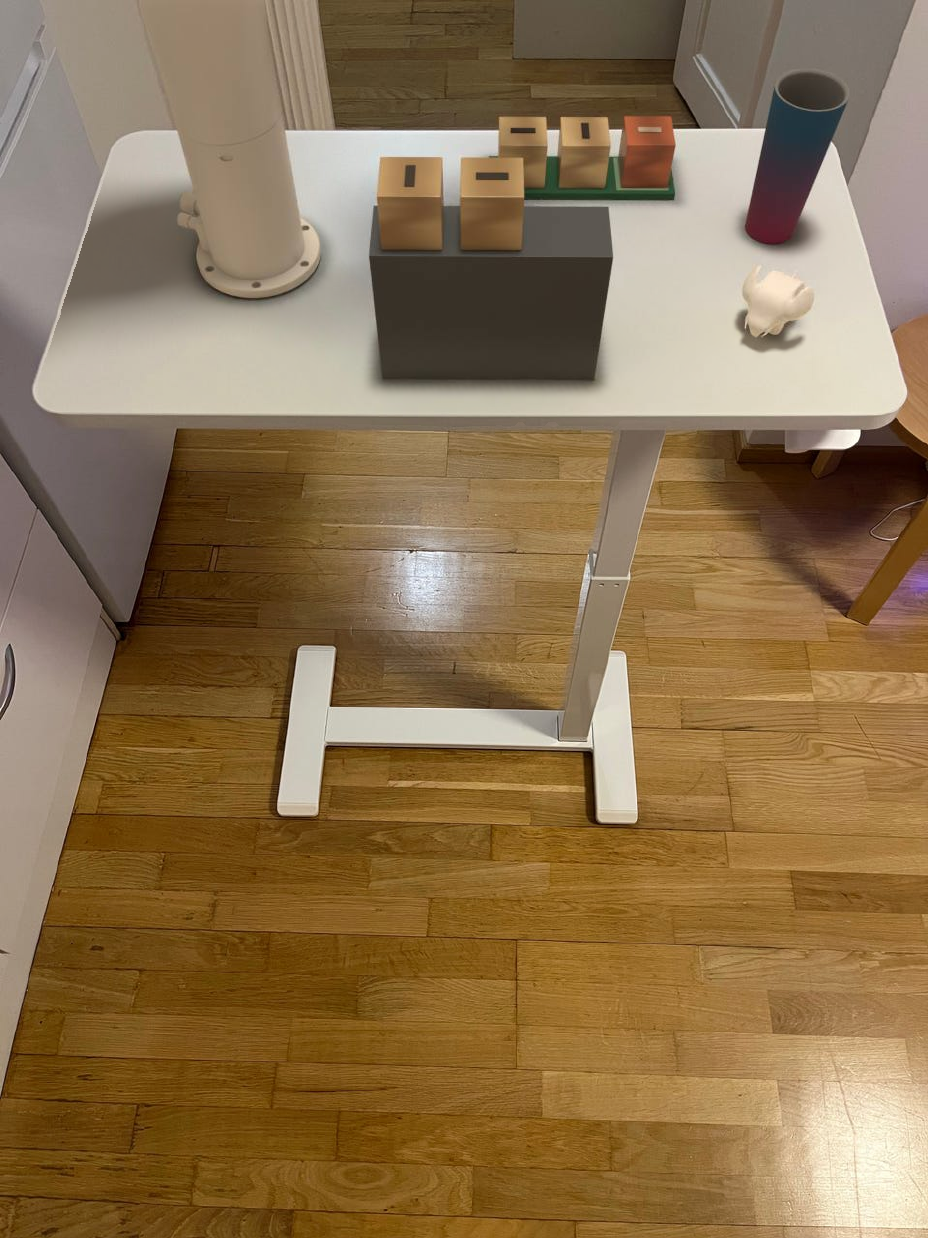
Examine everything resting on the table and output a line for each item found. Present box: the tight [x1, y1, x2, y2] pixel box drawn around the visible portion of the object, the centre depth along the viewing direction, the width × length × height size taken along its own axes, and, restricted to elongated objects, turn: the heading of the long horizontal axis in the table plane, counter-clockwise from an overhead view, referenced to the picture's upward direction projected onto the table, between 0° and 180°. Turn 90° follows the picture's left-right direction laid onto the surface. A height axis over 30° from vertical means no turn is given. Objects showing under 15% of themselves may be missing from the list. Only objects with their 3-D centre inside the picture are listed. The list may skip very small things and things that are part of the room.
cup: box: [744, 67, 851, 245], centre depth 96 cm, size 7×7×15 cm
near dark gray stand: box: [368, 156, 614, 381], centre depth 85 cm, size 20×6×19 cm, turn 89°
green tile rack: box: [488, 116, 676, 201], centre depth 104 cm, size 20×6×6 cm, turn 89°
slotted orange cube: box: [617, 115, 677, 188], centre depth 103 cm, size 5×5×5 cm
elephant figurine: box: [741, 264, 815, 338], centre depth 92 cm, size 7×8×6 cm
